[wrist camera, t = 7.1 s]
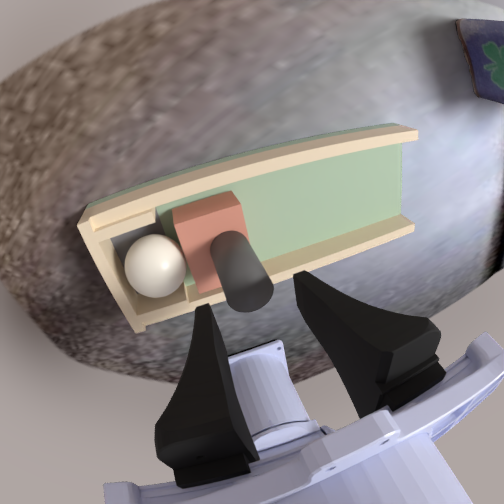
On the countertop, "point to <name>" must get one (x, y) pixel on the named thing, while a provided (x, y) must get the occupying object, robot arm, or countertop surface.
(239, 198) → the pitch
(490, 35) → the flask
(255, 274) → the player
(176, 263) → the ball
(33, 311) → the countertop surface
